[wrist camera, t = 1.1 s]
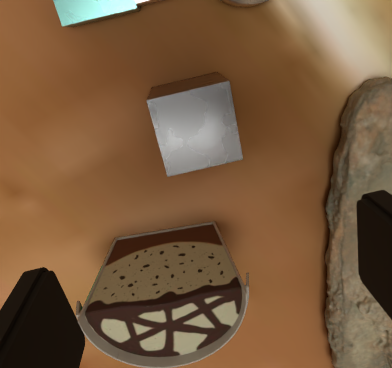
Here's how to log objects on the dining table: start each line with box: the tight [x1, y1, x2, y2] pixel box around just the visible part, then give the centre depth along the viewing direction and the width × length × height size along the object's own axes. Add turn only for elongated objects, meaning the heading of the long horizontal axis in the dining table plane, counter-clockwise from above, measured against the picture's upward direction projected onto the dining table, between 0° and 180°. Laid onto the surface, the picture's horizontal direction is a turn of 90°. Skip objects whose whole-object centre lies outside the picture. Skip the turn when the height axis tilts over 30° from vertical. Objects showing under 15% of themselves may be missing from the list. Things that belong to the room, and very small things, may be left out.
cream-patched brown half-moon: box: [76, 221, 249, 368], centre depth 28 cm, size 12×6×10 cm, turn 99°
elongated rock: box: [325, 77, 392, 368], centre depth 33 cm, size 35×5×10 cm
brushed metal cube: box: [147, 72, 243, 177], centre depth 25 cm, size 5×5×6 cm
